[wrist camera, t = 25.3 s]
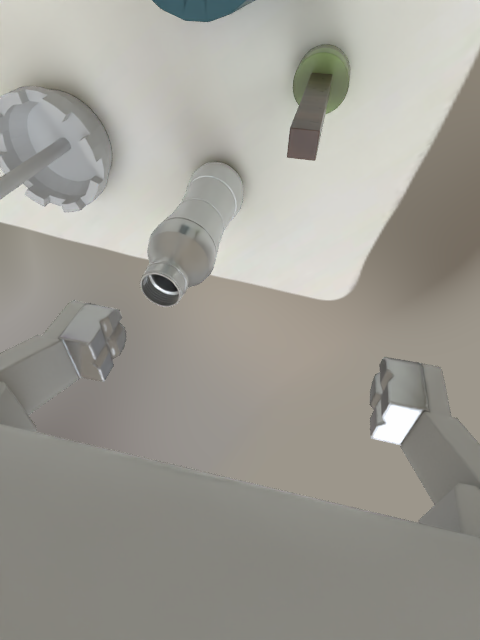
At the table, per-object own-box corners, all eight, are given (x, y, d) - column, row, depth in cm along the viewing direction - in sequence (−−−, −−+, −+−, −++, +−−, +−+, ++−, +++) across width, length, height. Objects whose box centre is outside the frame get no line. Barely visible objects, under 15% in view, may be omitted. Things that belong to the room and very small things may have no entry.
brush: (301, 42, 34) (267, 97, 22) (355, 46, 34) (351, 105, 22) (294, 101, 38) (262, 177, 26) (343, 106, 37) (334, 186, 25)
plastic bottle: (242, 152, 42) (184, 255, 28) (252, 208, 47) (206, 320, 33) (189, 158, 44) (109, 257, 30) (203, 211, 49) (140, 319, 35)
